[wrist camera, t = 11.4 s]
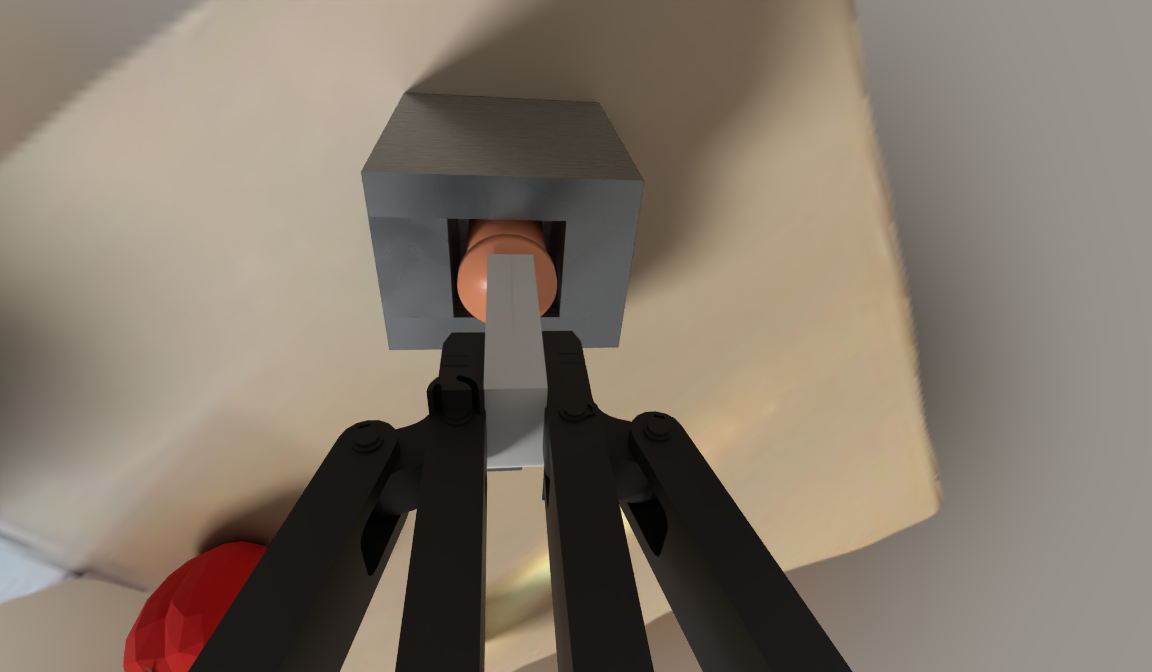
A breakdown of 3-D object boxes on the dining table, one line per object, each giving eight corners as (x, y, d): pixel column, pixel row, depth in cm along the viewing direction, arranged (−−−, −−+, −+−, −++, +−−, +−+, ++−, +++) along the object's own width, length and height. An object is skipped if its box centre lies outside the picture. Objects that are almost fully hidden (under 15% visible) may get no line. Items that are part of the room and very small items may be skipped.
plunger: (466, 252, 24) (459, 327, 20) (462, 177, 22) (454, 241, 18) (544, 253, 25) (554, 326, 20) (547, 180, 22) (559, 243, 18)
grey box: (418, 233, 29) (389, 350, 21) (403, 92, 25) (361, 171, 17) (593, 236, 30) (627, 347, 22) (607, 103, 26) (655, 181, 18)
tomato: (317, 522, 42) (274, 665, 34) (320, 607, 49) (285, 742, 41) (150, 514, 40) (60, 668, 31) (179, 605, 47) (111, 750, 39)
